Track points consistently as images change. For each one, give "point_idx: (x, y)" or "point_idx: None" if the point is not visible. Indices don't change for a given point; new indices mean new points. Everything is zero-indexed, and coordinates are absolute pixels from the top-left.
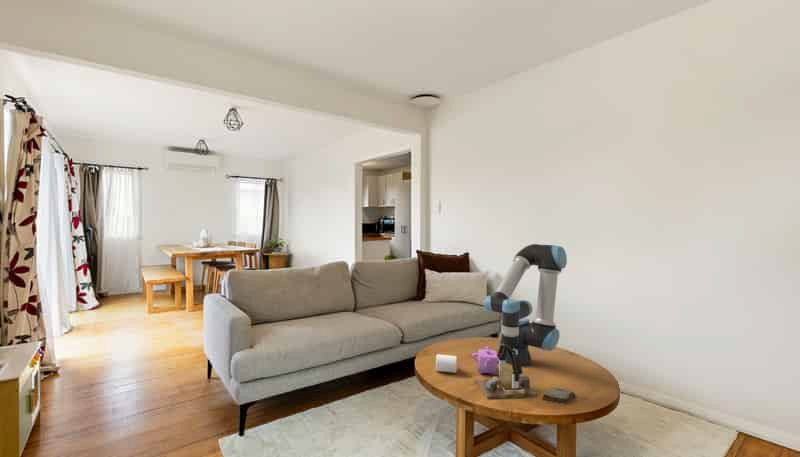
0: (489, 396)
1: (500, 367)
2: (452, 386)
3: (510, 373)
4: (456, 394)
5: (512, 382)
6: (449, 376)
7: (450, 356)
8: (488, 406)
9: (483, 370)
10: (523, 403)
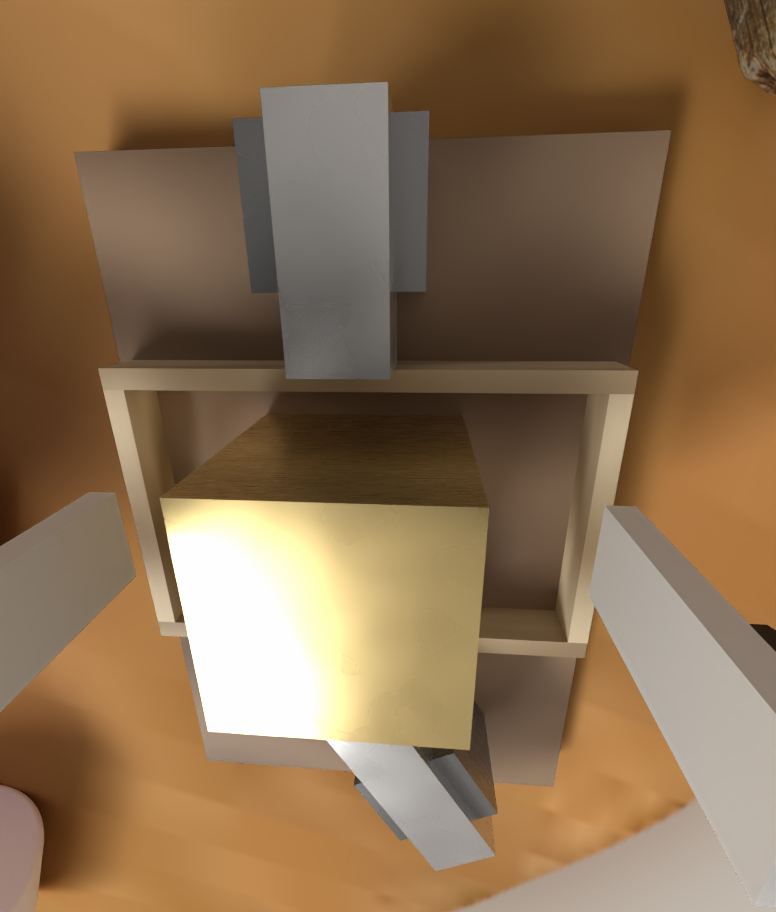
0: (555, 765)
1: (38, 658)
2: (289, 884)
3: (327, 596)
4: (424, 903)
5: (633, 661)
6: (106, 849)
7: None
8: (679, 797)
9: None
10: (760, 470)
